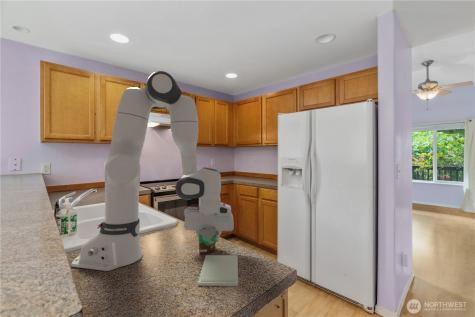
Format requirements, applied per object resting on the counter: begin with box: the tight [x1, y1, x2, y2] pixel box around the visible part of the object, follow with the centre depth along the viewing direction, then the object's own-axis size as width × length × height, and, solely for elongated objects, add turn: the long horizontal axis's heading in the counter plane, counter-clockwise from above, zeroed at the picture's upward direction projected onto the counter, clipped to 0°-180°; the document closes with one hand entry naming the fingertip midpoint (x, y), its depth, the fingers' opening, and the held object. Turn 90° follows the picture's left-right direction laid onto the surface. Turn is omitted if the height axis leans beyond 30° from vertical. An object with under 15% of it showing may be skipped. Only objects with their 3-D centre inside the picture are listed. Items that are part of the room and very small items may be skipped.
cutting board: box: [197, 254, 239, 287], centre depth 76 cm, size 12×19×1 cm, turn 1°
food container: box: [197, 227, 218, 255], centre depth 92 cm, size 12×6×10 cm, turn 171°
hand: (208, 240), depth 92 cm, fingers open, 5 cm apart
